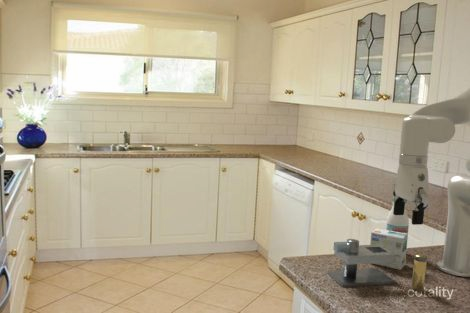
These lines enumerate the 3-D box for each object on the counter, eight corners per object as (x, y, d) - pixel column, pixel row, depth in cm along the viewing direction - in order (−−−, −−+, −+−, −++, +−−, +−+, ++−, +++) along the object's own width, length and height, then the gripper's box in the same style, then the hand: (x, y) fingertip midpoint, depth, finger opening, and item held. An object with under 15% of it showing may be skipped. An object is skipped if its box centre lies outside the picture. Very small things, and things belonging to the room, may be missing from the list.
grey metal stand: (377, 271, 153) (380, 234, 151) (394, 284, 143) (398, 245, 142) (325, 273, 149) (328, 236, 147) (340, 287, 139) (343, 246, 138)
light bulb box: (405, 264, 161) (408, 233, 159) (401, 270, 155) (404, 238, 153) (373, 257, 166) (376, 227, 165) (367, 263, 160) (370, 231, 159)
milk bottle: (378, 250, 174) (383, 195, 172) (396, 248, 177) (401, 195, 174) (392, 257, 167) (398, 200, 165) (410, 255, 170) (416, 200, 167)
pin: (419, 286, 143) (422, 253, 141) (426, 290, 140) (429, 257, 138) (408, 286, 142) (412, 253, 141) (415, 291, 139) (419, 258, 137)
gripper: (443, 165, 129) (437, 228, 132) (408, 156, 146) (403, 211, 148) (418, 165, 128) (412, 228, 130) (385, 156, 144) (380, 211, 147)
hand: (407, 219), depth 139 cm, fingers open, 9 cm apart
